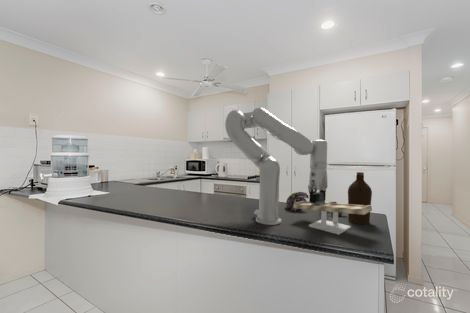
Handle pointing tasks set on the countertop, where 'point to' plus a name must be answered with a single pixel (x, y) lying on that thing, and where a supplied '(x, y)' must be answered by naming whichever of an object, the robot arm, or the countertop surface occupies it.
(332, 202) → the pottery mug
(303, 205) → the beam
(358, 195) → the olive oil
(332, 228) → the trestle
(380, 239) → the countertop surface
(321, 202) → the iron weight
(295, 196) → the decorative flower
